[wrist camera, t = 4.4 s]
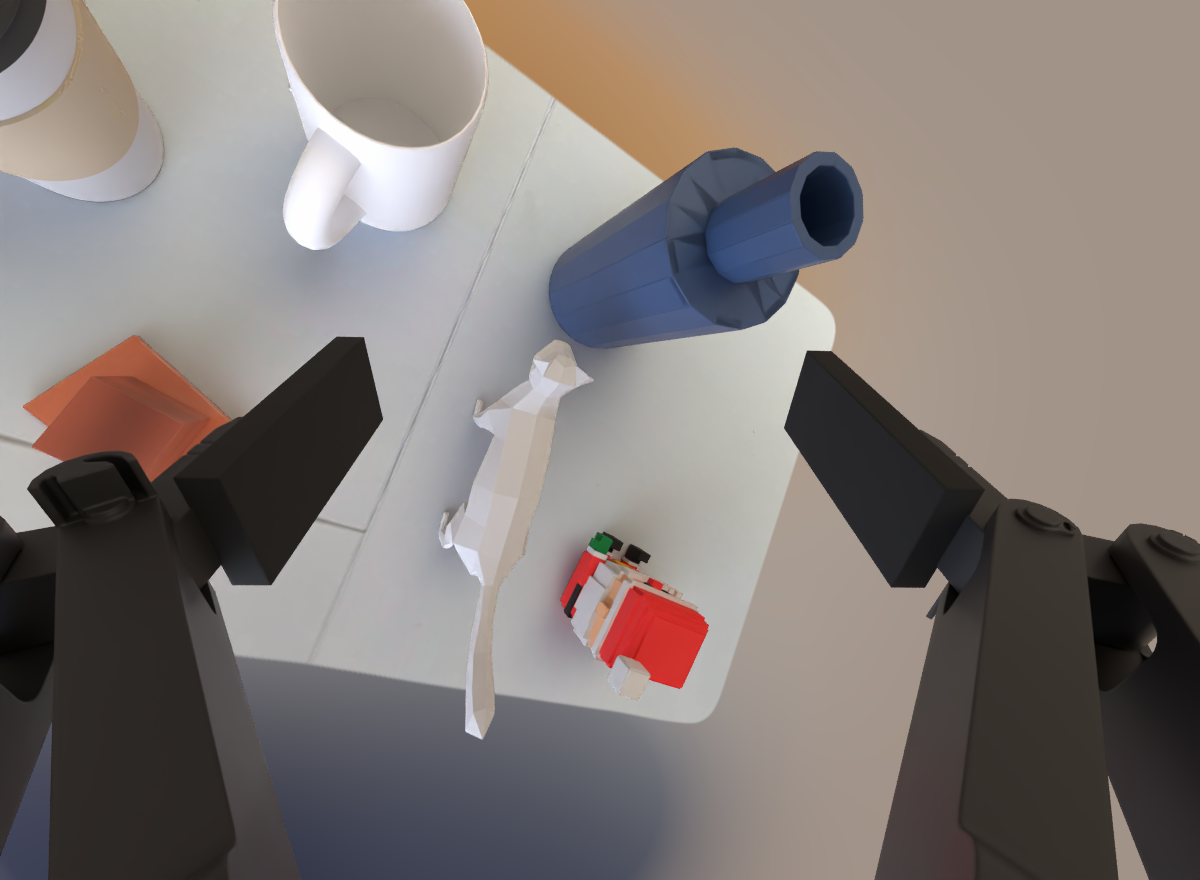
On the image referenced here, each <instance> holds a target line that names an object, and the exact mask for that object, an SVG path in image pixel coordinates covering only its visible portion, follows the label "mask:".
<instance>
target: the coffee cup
mask: <svg viewBox="0 0 1200 880" xmlns="http://www.w3.org/2000/svg"><path fill="white" fill-rule="evenodd" d="M163 157H164V144H163V138H162V134H161V131H160V128H159V125H158V123H157V121H156V119H155V117H154V115H153V114H152V112H151V110H150V109H149V107H148V106H147V104H146V103H145V101H144V100H143V98H142V97H141V95H140V94H139V92H138V91H137V89H136V88H135V86H134V84H133V83H132V81H131V79H130V76H129V74H128V72H127V70H126V69H125V67H124V65H123V64H122V62H121V60H120V59H119V57H118V56H117V54H116V52H115V51H114V49H113V48H112V46H111V44H110V43H109V41H108V40H107V38H106V36H105V35H104V33H103V32H102V30H101V28H100V27H99V25H98V24H97V22H96V21H95V19H94V17H93V16H92V14H91V13H90V11H89V9H88V8H87V6H86V5H85V3H84V1H83V0H0V171H2V172H5V173H8V174H11V175H15V176H19V177H22V178H24V179H26V180H28V181H31V182H33V183H35V184H37V185H40V186H42V187H44V188H46V189H49V190H51V191H53V192H56V193H58V194H61V195H64V196H67V197H71V198H75V199H79V200H85V201H95V202H107V201H116V200H121V199H125V198H128V197H131V196H133V195H136V194H137V193H139V192H141V191H142V190H144V189H145V188H147V187H148V186H149V185H150V184H151V183H152V182H153V181H154V179H155V178H156V176H157V175H158V173H159V171H160V169H161V166H162V162H163Z"/></svg>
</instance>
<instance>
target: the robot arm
mask: <svg viewBox="0 0 1200 880" xmlns="http://www.w3.org/2000/svg"><path fill="white" fill-rule="evenodd" d="M382 420H383V417H382V413H381V408H380V404H379V400H378V396H377V391H376V387H375V383H374V379H373V374H372V370H371V366H370V362H369V357H368V353H367V349H366V344H365V340H364V337H336V338H334V339H333V340H332V341H331V342H330V343H329V344H327V345H326V346H325V347H324V348H323V349H322V350H321V351H319V352H318V353H317V354H316V355H315V356H314V357H312V358H311V359H310V360H309V361H308V362H307V363H305V364H304V365H303V366H302V367H301V368H300V369H298V370H297V371H296V372H295V373H294V374H293V375H291V376H290V377H289V378H288V379H287V380H286V381H285V382H283V383H282V384H281V385H280V386H279V387H278V388H276V389H275V390H274V391H273V392H272V393H271V394H269V395H268V396H267V397H266V398H265V399H264V400H262V401H261V402H260V403H259V404H258V405H257V406H255V407H254V408H253V409H252V410H251V411H250V412H248V413H247V414H246V415H245V416H244V417H238V418H236V419H234V420H232V421H230V422H228V423H226V424H223V425H221V426H219V427H217V428H216V429H214V430H213V431H212V432H211V433H210V434H208V435H207V436H206V437H205V438H204V439H202V440H201V441H200V444H196V445H195V446H194V447H193V448H191V449H190V450H189V451H188V452H187V455H183V456H182V457H181V458H179V459H178V460H177V461H176V462H174V463H173V464H172V465H171V466H170V467H168V468H167V469H166V470H165V471H164V472H162V473H161V474H160V475H159V476H158V477H156V478H155V479H154V480H153V481H152V482H150V481H149V479H148V477H147V476H146V474H145V472H144V470H143V469H142V467H141V465H140V464H139V462H138V460H137V459H136V458H135V456H134V455H133V454H132V453H128V452H124V451H102V452H97V453H92V454H87V455H83V456H80V457H76V458H73V459H70V460H67V461H64V462H62V463H60V464H58V465H56V466H54V467H52V468H49V469H47V470H45V471H44V472H43V473H41V474H40V475H39V476H37V477H36V478H34V479H33V480H32V482H31V483H30V485H29V487H28V488H27V490H28V491H29V492H30V493H31V495H32V496H33V497H34V499H35V500H36V501H37V502H38V504H39V505H40V506H41V508H42V509H43V510H44V512H45V513H46V514H47V515H48V517H49V518H50V519H51V521H52V522H53V523H54V524H55V526H54V527H48V528H42V529H37V530H31V531H25V532H19V533H16V532H15V531H14V530H13V529H12V528H11V527H10V525H9V524H8V523H7V522H6V521H5V519H3V518H2V517H1V516H0V855H1V853H2V850H3V848H4V845H5V842H6V840H7V837H8V835H9V832H10V829H11V827H12V824H13V821H14V819H15V816H16V813H17V811H18V808H19V806H20V803H21V801H22V798H23V795H24V793H25V790H26V787H27V785H28V782H29V780H30V777H31V774H32V772H33V769H34V767H35V764H36V761H37V759H38V756H39V754H40V751H41V748H42V746H43V743H44V740H45V738H46V735H47V732H48V730H49V727H50V724H51V722H52V754H51V755H52V757H51V794H50V795H51V796H50V834H49V874H48V875H49V877H48V880H301V878H300V874H299V871H298V868H297V864H296V861H295V857H294V854H293V851H292V847H291V844H290V841H289V837H288V834H287V831H286V827H285V824H284V821H283V817H282V814H281V810H280V807H279V804H278V800H277V797H276V794H275V790H274V787H273V784H272V780H271V777H270V774H269V770H268V767H267V764H266V760H265V757H264V754H263V750H262V747H261V743H260V740H259V737H258V734H257V730H256V727H255V723H254V720H253V717H252V714H251V710H250V707H249V703H248V700H247V697H246V693H245V690H244V687H243V683H242V680H241V677H240V673H239V670H238V667H237V664H236V660H235V656H234V653H233V650H232V646H231V643H230V640H229V636H228V633H227V630H226V626H225V623H224V620H223V616H222V613H221V610H220V606H219V603H218V600H217V596H216V593H215V591H214V589H213V587H212V586H211V584H210V582H209V581H208V580H209V579H210V578H211V576H212V575H213V574H214V573H215V572H216V570H217V569H218V568H219V567H220V565H221V566H222V567H223V569H224V571H225V573H226V575H227V576H228V578H229V580H230V582H231V584H232V585H272V583H273V582H274V580H275V579H276V577H277V576H278V574H279V573H280V571H281V570H282V568H283V567H284V565H285V564H286V563H287V561H288V560H289V558H290V557H291V555H292V554H293V552H294V551H295V549H296V548H297V546H298V545H299V543H300V542H301V540H302V539H303V537H304V536H305V534H306V533H307V531H308V530H309V528H310V527H311V526H312V524H313V523H314V521H315V520H316V518H317V517H318V515H319V514H320V512H321V511H322V509H323V508H324V506H325V505H326V503H327V502H328V500H329V499H330V497H331V496H332V494H333V493H334V491H335V490H336V488H337V487H338V486H339V484H340V483H341V481H342V480H343V478H344V477H345V475H346V474H347V472H348V471H349V469H350V468H351V466H352V465H353V463H354V462H355V460H356V459H357V457H358V456H359V454H360V453H361V451H362V450H363V449H364V447H365V446H366V444H367V443H368V441H369V440H370V438H371V437H372V435H373V434H374V432H375V431H376V429H377V428H378V426H379V425H380V423H381V422H382ZM784 429H785V430H786V432H787V433H788V435H789V436H790V438H791V439H792V441H793V442H794V444H795V445H796V447H797V448H798V450H799V451H800V453H801V454H802V455H803V457H804V458H805V460H806V461H807V463H808V464H809V466H810V467H811V469H812V470H813V472H814V473H815V475H816V476H817V478H818V479H819V481H820V482H821V484H822V485H823V487H824V488H825V490H826V491H827V493H828V494H829V496H830V497H831V499H832V500H833V501H834V503H835V504H836V506H837V508H838V509H839V511H840V512H841V514H842V515H843V517H844V518H845V519H846V521H847V522H848V524H849V525H850V527H851V528H852V530H853V531H854V533H855V534H856V536H857V537H858V539H859V540H860V542H861V543H862V545H863V546H864V548H865V549H866V550H867V552H868V554H869V555H870V556H871V558H872V560H873V561H874V563H875V564H876V566H877V567H878V568H879V570H880V572H881V573H882V574H883V576H884V577H885V579H886V581H887V582H888V583H889V585H890V586H891V587H906V588H911V587H912V588H913V587H914V588H916V587H917V588H925V587H926V585H927V583H928V582H929V580H930V578H931V577H932V575H933V574H934V572H935V570H936V569H937V568H938V569H939V570H940V571H941V572H942V574H943V575H944V576H945V577H946V579H947V580H948V581H949V582H948V584H947V585H946V587H945V588H944V590H943V591H942V593H941V594H940V596H939V597H938V599H937V600H936V602H935V603H934V605H933V606H932V608H931V610H930V611H929V612H928V614H927V616H926V617H928V618H930V619H932V618H933V617H934V616H935V615H936V616H935V621H934V625H933V629H932V634H931V638H930V643H929V647H928V651H927V656H926V660H925V664H924V668H923V672H922V677H921V681H920V686H919V690H918V694H917V699H916V703H915V707H914V711H913V716H912V720H911V724H910V729H909V733H908V737H907V742H906V746H905V750H904V755H903V759H902V763H901V768H900V772H899V776H898V781H897V785H896V789H895V793H894V798H893V802H892V807H891V811H890V815H889V820H888V824H887V828H886V832H885V837H884V841H883V845H882V850H881V854H880V858H879V862H878V867H877V871H876V876H875V880H1118V871H1117V861H1116V852H1115V841H1114V831H1113V822H1112V813H1111V803H1110V793H1109V784H1108V776H1109V779H1110V781H1111V784H1112V786H1113V789H1114V791H1115V794H1116V797H1117V799H1118V802H1119V804H1120V807H1121V809H1122V812H1123V814H1124V817H1125V819H1126V822H1127V825H1128V827H1129V830H1130V832H1131V835H1132V837H1133V840H1134V842H1135V845H1136V848H1137V850H1138V853H1139V855H1140V858H1141V860H1142V863H1143V865H1144V868H1145V870H1146V873H1147V876H1148V878H1149V880H1200V544H1198V543H1197V541H1196V540H1194V539H1192V538H1190V537H1188V536H1186V535H1185V536H1183V534H1181V533H1179V532H1176V531H1174V530H1167V529H1164V528H1161V527H1158V526H1153V525H1147V524H1131V525H1129V526H1128V527H1127V528H1126V529H1125V530H1124V532H1123V533H1122V534H1121V535H1120V536H1119V537H1118V538H1117V539H1116V540H1115V541H1110V540H1105V539H1101V538H1096V537H1091V536H1086V535H1082V534H1081V532H1080V530H1079V528H1078V527H1077V526H1075V524H1073V523H1072V522H1071V521H1070V520H1069V519H1067V518H1066V517H1064V516H1063V515H1061V514H1059V513H1058V512H1056V511H1054V510H1052V509H1050V508H1047V507H1045V506H1043V505H1040V504H1037V503H1033V502H1030V501H1026V500H1020V499H1007V498H1006V497H1005V496H1003V495H1002V494H1001V493H1000V492H999V491H998V490H997V489H996V488H994V487H993V486H992V485H991V484H990V483H989V482H988V481H986V480H985V479H984V478H983V477H982V476H981V475H980V474H978V473H977V472H976V471H975V470H973V468H972V467H968V464H967V463H966V462H965V461H964V460H962V459H961V458H960V457H959V456H956V454H955V453H954V452H953V451H952V450H951V449H950V448H948V446H946V445H945V444H944V443H943V442H942V441H940V440H938V439H936V438H935V437H933V436H931V435H929V434H928V433H926V432H924V431H922V430H918V429H917V428H916V427H915V426H914V425H913V424H912V423H911V422H909V420H907V419H906V418H905V417H904V416H903V415H902V414H901V413H900V412H899V411H897V410H896V409H895V408H894V407H893V406H892V405H891V404H890V403H889V402H887V401H886V400H885V399H884V398H883V397H882V396H881V395H879V394H878V393H877V392H876V391H875V390H874V389H873V388H872V387H871V386H870V385H868V384H867V383H866V382H865V381H864V380H863V379H862V378H861V377H860V376H858V375H857V374H856V373H855V372H854V371H853V370H852V369H851V368H850V367H848V366H847V365H846V364H845V363H844V362H843V361H842V360H841V359H840V358H838V357H837V356H836V355H835V354H834V353H833V352H832V351H807V353H806V356H805V359H804V363H803V366H802V369H801V373H800V376H799V379H798V383H797V386H796V389H795V393H794V396H793V400H792V403H791V406H790V410H789V413H788V416H787V420H786V423H785V426H784ZM1156 636H1157V644H1156V647H1155V650H1154V652H1153V653H1152V651H1151V650H1150V648H1149V646H1148V643H1150V641H1152V640H1153V639H1154V638H1155V637H1156Z"/></svg>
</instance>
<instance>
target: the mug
mask: <svg viewBox="0 0 1200 880" xmlns="http://www.w3.org/2000/svg"><path fill="white" fill-rule="evenodd" d="M273 23H274V29H275V34H276V40H277V43H278V47H279V50H280V53H281V56H282V60H283V63H284V66H285V69H286V73H287V76H288V79H289V82H290V83H289V89H290V90H291V93H293V95H294V99H295V102H296V105H297V108H298V112H299V115H300V118H301V121H302V125H303V128H304V131H305V134H306V137H307V141H308V144H307V146H306V148H305V150H304V151H303V153H302V155H301V157H300V159H299V161H298V163H297V166H296V168H295V170H294V172H293V175H292V177H291V180H290V182H289V185H288V188H287V191H286V195H285V199H284V205H283V218H284V222H285V225H286V228H287V231H288V233H289V234H290V235H291V236H292V237H293V238H294V239H295V240H296V241H297V242H298V243H299V244H300V245H302V246H305V247H307V248H310V249H312V250H320V249H328V248H330V247H332V246H333V245H335V244H336V243H338V242H339V241H340V240H341V239H342V238H343V237H345V236H346V235H347V234H348V233H349V232H350V231H351V230H352V229H353V228H354V227H355V226H356V224H357V223H358V222H359V221H361V222H363V223H365V224H368V225H370V226H373V227H375V228H378V229H383V230H388V231H408V230H414V229H417V228H420V227H422V226H425V225H427V224H428V223H430V222H431V221H433V220H434V219H435V218H437V217H438V216H439V214H440V213H441V212H442V211H443V210H444V208H445V206H446V205H447V203H448V201H449V198H450V196H451V193H452V191H453V188H454V185H455V183H456V180H457V177H458V175H459V172H460V169H461V167H462V164H463V162H464V159H465V156H466V154H467V151H468V148H469V146H470V143H471V140H472V138H473V135H474V132H475V130H476V127H477V125H478V122H479V119H480V117H481V114H482V111H483V109H484V105H485V102H486V98H487V93H488V81H489V71H488V62H487V56H486V51H485V48H484V44H483V40H482V37H481V34H480V31H479V29H478V27H477V25H476V22H475V20H474V18H473V16H472V14H471V11H470V10H469V8H468V7H467V5H466V4H465V2H464V0H273Z"/></svg>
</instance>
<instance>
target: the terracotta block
mask: <svg viewBox="0 0 1200 880" xmlns="http://www.w3.org/2000/svg"><path fill="white" fill-rule="evenodd" d="M209 420H210V418H209V417H208V416H206V415H204V414H202V413H200V412H198V411H196V410H194V409H193V408H191V407H189V406H187V405H185V404H183V403H181V402H179V401H178V400H176V399H174V398H172V397H170V396H168V395H166V394H164V393H162V392H161V391H159V390H157V389H155V388H153V387H151V386H149V385H147V384H146V383H144V382H142V381H140V380H138V379H136V378H134V377H132V376H91V378H90V379H89V380H88V381H87V382H86V383H85V385H84V386H83V387H82V388H81V389H80V390H79V392H78V393H77V394H76V395H75V396H74V397H73V399H72V400H71V401H70V402H69V403H68V405H67V406H66V407H65V408H64V409H63V410H62V412H61V413H60V414H59V415H58V416H57V417H56V419H55V420H54V421H53V422H52V423H51V424H50V426H49V427H48V428H47V429H46V430H45V431H44V433H43V434H42V435H41V436H40V437H39V439H38V440H37V441H36V442H35V443H34V444H33V446H32V448H34V449H36V450H38V451H41V452H43V453H45V454H47V455H50V456H52V457H54V458H56V459H59V460H61V461H63V462H64V461H67V460H70V459H73V458H76V457H80V456H83V455H87V454H92V453H97V452H102V451H124V452H128V453H132V454H133V455H134V456H135V458H136V459H137V460H138V462H139V464H140V465H141V467H142V469H143V470H144V472H145V474H146V476H147V477H148V479H149V481H150V482H152V481H153V480H154V479H155V478H156V477H158V476H159V475H160V474H161V473H162V472H164V471H165V470H166V469H167V468H168V467H170V466H171V465H172V464H173V463H174V462H176V461H177V460H178V459H179V457H180V456H181V455H182V454H183V452H184V451H185V450H186V449H187V447H188V446H189V445H190V444H191V442H192V441H193V440H194V439H195V437H196V436H197V435H198V434H199V432H200V431H201V430H202V428H203V427H204V426H205V425H206V423H207V422H208V421H209Z"/></svg>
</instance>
